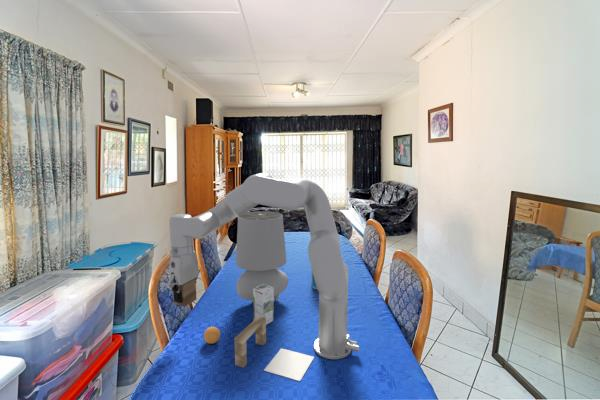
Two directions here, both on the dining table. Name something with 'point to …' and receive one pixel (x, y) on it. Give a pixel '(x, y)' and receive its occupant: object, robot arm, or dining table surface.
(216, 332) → the ball
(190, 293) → the brown block
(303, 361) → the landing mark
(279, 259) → the table lamp
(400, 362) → the dining table surface
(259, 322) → the bridge
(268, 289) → the syrup box
